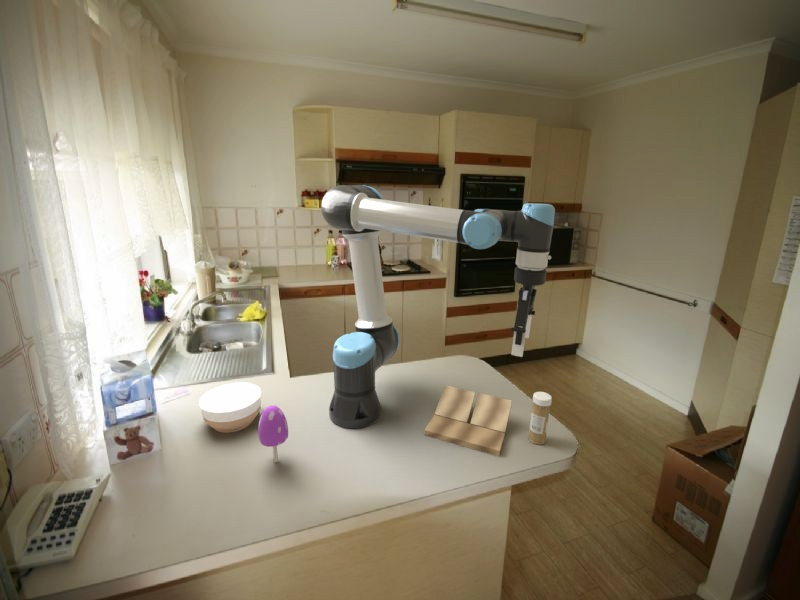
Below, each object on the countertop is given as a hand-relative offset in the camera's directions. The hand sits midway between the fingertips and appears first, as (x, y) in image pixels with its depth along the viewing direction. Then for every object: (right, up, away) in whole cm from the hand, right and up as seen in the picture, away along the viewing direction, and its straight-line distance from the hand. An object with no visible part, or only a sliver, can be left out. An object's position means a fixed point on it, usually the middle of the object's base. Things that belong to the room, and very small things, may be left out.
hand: (520, 345), depth 103 cm
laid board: (-15, -25, +2) cm, 29 cm away
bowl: (-79, -22, +7) cm, 82 cm away
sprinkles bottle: (+5, -26, +1) cm, 26 cm away
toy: (-62, -27, -9) cm, 68 cm away
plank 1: (-16, -19, +11) cm, 27 cm away
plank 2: (-6, -20, +7) cm, 22 cm away
